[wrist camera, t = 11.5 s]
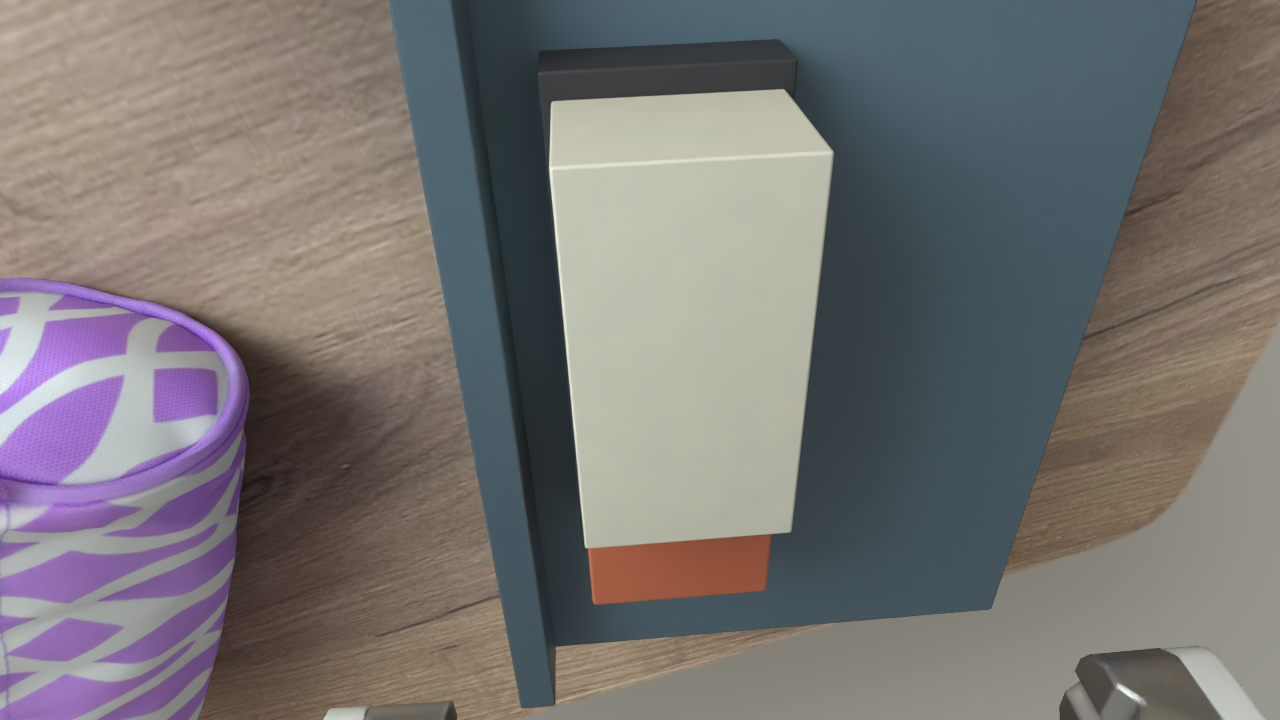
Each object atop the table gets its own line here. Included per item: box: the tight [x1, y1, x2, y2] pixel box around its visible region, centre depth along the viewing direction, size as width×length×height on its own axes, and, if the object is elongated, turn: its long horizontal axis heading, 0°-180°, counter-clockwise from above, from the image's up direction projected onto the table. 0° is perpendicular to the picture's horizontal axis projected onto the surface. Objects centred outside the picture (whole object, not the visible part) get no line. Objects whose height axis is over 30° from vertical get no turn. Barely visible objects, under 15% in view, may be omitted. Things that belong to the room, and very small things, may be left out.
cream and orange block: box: [537, 39, 834, 605], centre depth 17 cm, size 12×5×5 cm, turn 2°
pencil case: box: [0, 278, 250, 720], centre depth 25 cm, size 22×9×10 cm, turn 160°
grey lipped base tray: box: [388, 0, 1198, 708], centre depth 21 cm, size 15×24×8 cm, turn 2°
